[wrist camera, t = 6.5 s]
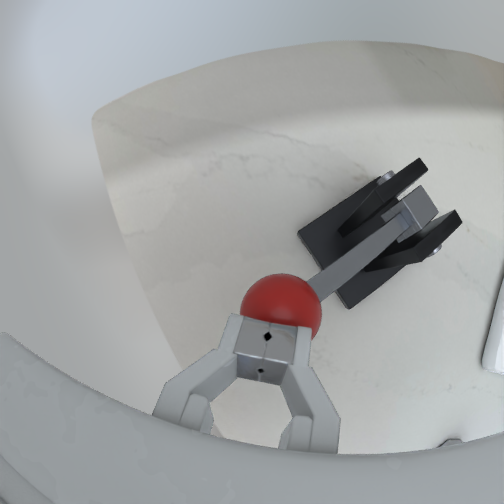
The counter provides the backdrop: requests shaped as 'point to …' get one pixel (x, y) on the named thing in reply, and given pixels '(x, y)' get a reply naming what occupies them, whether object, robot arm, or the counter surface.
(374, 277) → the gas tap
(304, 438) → the robot arm
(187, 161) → the counter surface
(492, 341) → the spray bottle
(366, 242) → the lever
